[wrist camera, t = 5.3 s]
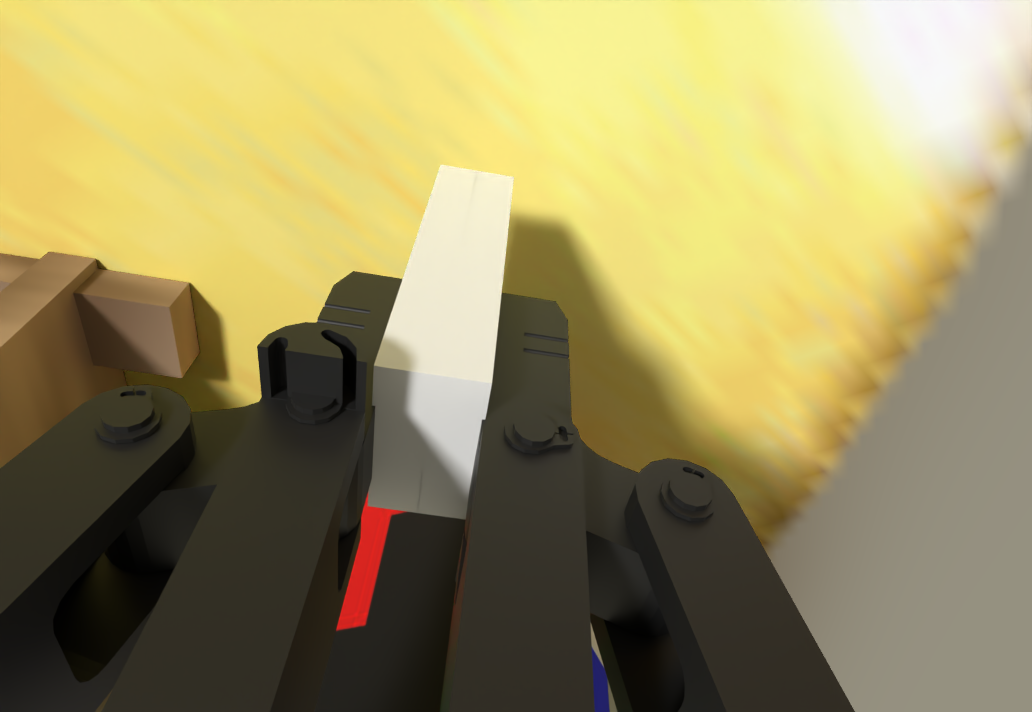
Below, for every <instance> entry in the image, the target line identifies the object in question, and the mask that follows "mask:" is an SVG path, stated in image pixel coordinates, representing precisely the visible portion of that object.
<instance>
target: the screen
mask: <svg viewBox="0 0 1032 712" xmlns="http://www.w3.org/2000/svg"><path fill="white" fill-rule="evenodd" d="M199 353H200V351H199V344H198V338H197V331H196V325H195V318H194V312H193V305H192V299H191V293H190V286H189V283H187V282H180V281H174V280H167V279H161V278H155V277H148V276H142V275H135V274H129V273H123V272H116V271H110V270H104V269H98V267H97V263H96V259H93V258H86V257H80V256H74V255H67V254H61V253H55V252H48V253H47V254H45V255H44V256H43V257H42V258H41V259H33V258H27V257H21V256H14V255H8V254H1V253H0V468H1V467H3V466H4V465H5V464H6V463H8V462H9V461H10V460H12V459H13V458H14V457H15V456H17V455H18V454H19V453H20V452H22V451H23V450H24V449H25V448H27V447H28V446H29V445H31V444H32V443H33V442H34V441H36V440H37V439H38V438H39V437H41V436H42V435H43V434H45V433H46V432H47V431H48V430H50V429H51V428H52V427H53V426H55V425H56V424H57V423H58V422H60V421H61V420H62V419H64V418H65V417H66V416H67V415H69V414H70V413H71V412H72V411H74V410H75V409H76V408H77V407H79V406H80V405H81V404H83V403H85V402H86V401H88V400H90V399H92V398H93V397H95V396H97V395H98V394H100V393H103V392H106V391H110V390H113V389H116V388H120V387H123V386H127V384H126V380H125V376H124V372H123V370H129V371H136V372H143V373H150V374H157V375H163V376H170V377H177V378H183V376H184V375H185V373H186V372H187V370H188V369H189V367H190V366H191V364H192V363H193V361H194V360H195V358H196V357H197V356H198V354H199ZM112 690H113V689H112ZM111 692H112V691H111ZM111 692H110V693H109V694H108V696H107V697H106V698H105V699H104V701H103V702H102V703H101V705H100V706H99V707H98V708H97V710H96V711H95V712H101V711H102V709H103V707H104V705H105V703H106V702H107V700H108V698H109V696H110V694H111Z"/></svg>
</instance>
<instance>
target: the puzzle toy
mask: <svg viewBox="0 0 1032 712" xmlns="http://www.w3.org/2000/svg"><path fill="white" fill-rule="evenodd" d="M465 521H466V520H465V519H458V518H451V517H443V516H436V515H429V514H421V513H414V512H407V511H400V510H392V509H385V508H378V507H370V506H368V494H367V498H366V501H365V505H364V508H363V512H362V516H361V539H360V542H359V546H358V550H357V554H356V557H355V561H354V565H353V569H352V572H351V576H350V580H349V584H348V587H347V591H346V595H345V599H344V602H343V606H342V610H341V614H340V617H339V621H338V625H337V629H336V632H335V636H334V640H333V644H332V647H331V651H330V655H329V659H328V662H327V666H326V670H325V674H324V677H323V681H322V685H321V689H320V692H319V696H318V700H317V704H316V707H315V711H314V712H440V705H441V697H442V690H443V682H444V674H445V666H446V659H447V651H448V643H449V635H450V628H451V620H452V612H453V604H454V596H455V589H456V582H455V577H456V572H457V566H458V561H459V556H460V550H461V545H462V539H463V534H464V528H465ZM591 642H592V663H593V684H594V704H595V712H610V708H609V693H608V679H607V675H606V672H605V669H604V665H603V662H602V659H601V655H600V652H599V649H598V645H597V642H596V639H595V635H594V632H593V628H592V625H591Z"/></svg>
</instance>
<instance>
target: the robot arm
mask: <svg viewBox="0 0 1032 712" xmlns="http://www.w3.org/2000/svg"><path fill="white" fill-rule="evenodd" d="M513 180H514V177H511V176H505V175H499V174H493V173H487V172H482V171H476V170H470V169H464V168H458V167H452V166H447V165H440V168H439V171H438V174H437V177H436V180H435V183H434V186H433V189H432V192H431V195H430V198H429V201H428V204H427V207H426V210H425V213H424V216H423V219H422V222H421V225H420V228H419V231H418V234H417V237H416V240H415V243H414V246H413V249H412V252H411V255H410V258H409V261H408V264H407V267H406V270H405V273H404V276H403V279H399V278H393V277H386V276H380V275H374V274H368V273H361V272H355V271H353V272H352V273H350V274H349V275H348V276H346V277H345V278H343V279H342V280H340V281H339V282H338V283H336V284H335V285H334V286H333V288H332V290H331V292H330V294H329V296H328V298H327V300H326V302H325V307H323V309H322V311H321V313H320V315H319V317H318V321H317V322H316V323H307V322H305V323H300V324H295V325H290V326H285V327H283V328H281V329H279V330H277V331H275V332H272V333H270V334H268V335H267V336H266V337H265V338H264V340H263V341H262V342H261V343H260V344H259V345H258V346H257V348H258V360H259V371H260V382H261V393H262V398H261V400H260V401H259V402H257V403H254V404H251V405H248V406H245V407H239V408H233V409H226V410H215V411H203V412H191V409H190V407H189V406H188V404H187V403H186V401H185V399H184V398H183V396H181V395H179V394H177V393H175V392H173V391H172V390H170V389H168V388H164V387H158V386H152V385H135V386H123V387H120V388H116V389H113V390H110V391H106V392H103V393H100V394H98V395H97V396H95V397H93V398H92V399H90V400H88V401H86V402H85V403H83V404H81V405H80V406H79V407H77V408H76V409H75V410H74V411H72V412H71V413H70V414H69V415H67V416H66V417H65V418H64V419H62V420H61V421H60V422H58V423H57V424H56V425H55V426H53V427H52V428H51V429H50V430H48V431H47V432H46V433H45V434H43V435H42V436H41V437H39V438H38V439H37V440H36V441H34V442H33V443H32V444H31V445H29V446H28V447H27V448H25V449H24V450H23V451H22V452H20V453H19V454H18V455H17V456H15V457H14V458H13V459H12V460H10V461H9V462H8V463H6V464H5V465H4V466H3V467H1V468H0V712H95V711H96V710H97V708H98V707H99V706H100V705H101V703H102V702H103V701H104V699H105V698H106V697H107V696H108V694H109V693H110V692H111V691H112V692H111V694H110V696H109V698H108V700H107V702H106V703H105V705H104V707H103V709H102V711H101V712H314V711H315V707H316V704H317V700H318V696H319V692H320V689H321V685H322V681H323V677H324V674H325V670H326V666H327V662H328V659H329V655H330V651H331V647H332V644H333V640H334V636H335V632H336V629H337V625H338V621H339V617H340V614H341V610H342V606H343V602H344V599H345V595H346V591H347V587H348V584H349V580H350V576H351V572H352V569H353V565H354V561H355V557H356V554H357V550H358V546H359V542H360V539H361V516H362V512H363V508H364V505H365V501H366V498H367V494H368V506H370V507H378V508H385V509H392V510H400V511H407V512H414V513H421V514H429V515H436V516H443V517H451V518H458V519H465V520H466V521H465V528H464V534H463V539H462V545H461V550H460V556H459V561H458V566H457V572H456V577H455V582H456V589H455V596H454V604H453V612H452V620H451V628H450V635H449V643H448V651H447V659H446V666H445V674H444V682H443V690H442V697H441V705H440V712H595V704H594V684H593V663H592V642H591V625H592V628H593V632H594V635H595V639H596V642H597V645H598V649H599V652H600V655H601V659H602V662H603V665H604V669H605V672H606V675H607V679H608V682H609V685H610V689H611V692H612V695H613V699H614V702H615V705H616V709H617V712H855V711H854V709H853V708H852V706H851V704H850V702H849V700H848V699H847V697H846V695H845V693H844V692H843V690H842V688H841V686H840V685H839V683H838V681H837V679H836V677H835V675H834V674H833V672H832V670H831V668H830V666H829V665H828V663H827V661H826V659H825V658H824V656H823V654H822V652H821V650H820V649H819V647H818V645H817V643H816V641H815V640H814V638H813V636H812V634H811V633H810V631H809V629H808V627H807V625H806V623H805V622H804V620H803V618H802V616H801V615H800V613H799V611H798V609H797V607H796V605H795V604H794V602H793V600H792V598H791V596H790V595H789V593H788V591H787V589H786V588H785V586H784V584H783V582H782V581H781V579H780V577H779V575H778V573H777V571H776V570H775V568H774V566H773V564H772V562H771V561H770V559H769V557H768V555H767V553H766V552H765V550H764V548H763V546H762V545H761V543H760V541H759V539H758V537H757V536H756V534H755V532H754V530H753V528H752V527H751V525H750V523H749V521H748V519H747V518H746V516H745V514H744V512H743V510H742V509H741V507H740V505H739V503H738V501H737V500H736V498H735V496H734V495H733V493H732V492H731V491H730V490H729V488H728V487H727V486H726V484H725V483H724V482H723V481H722V480H721V479H720V478H718V477H717V476H716V475H714V474H713V473H711V472H710V471H709V470H707V469H706V468H704V467H701V466H699V465H696V464H694V463H691V462H689V461H685V460H677V459H663V460H659V461H654V462H651V463H650V464H648V465H647V466H646V467H645V468H643V469H642V470H641V471H640V473H637V472H635V471H632V470H630V469H627V468H625V467H622V466H620V465H618V464H615V463H613V462H611V461H609V460H607V459H605V458H603V457H601V456H599V455H598V454H596V453H595V452H594V451H592V450H591V449H590V448H588V447H587V446H586V444H585V443H584V442H583V441H582V440H581V439H580V436H579V432H578V429H577V428H576V427H575V426H574V425H573V423H572V418H571V396H570V369H569V359H568V358H569V343H568V320H567V318H566V317H565V315H564V314H563V312H562V311H561V309H560V308H559V306H558V305H557V303H556V302H555V301H550V300H543V299H537V298H531V297H525V296H518V295H512V294H506V293H502V284H503V275H504V265H505V256H506V246H507V237H508V228H509V218H510V209H511V199H512V190H513ZM112 689H113V690H112Z"/></svg>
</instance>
